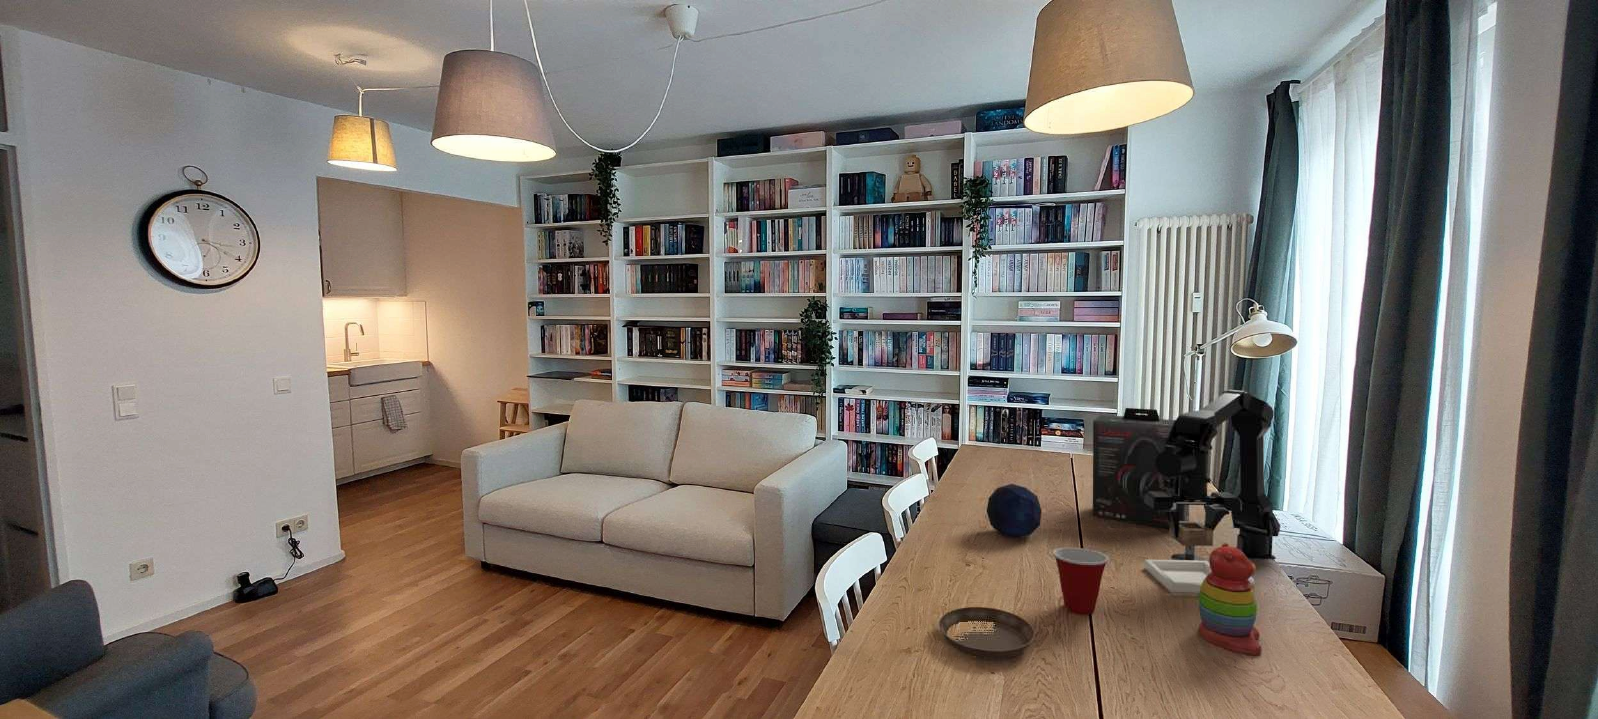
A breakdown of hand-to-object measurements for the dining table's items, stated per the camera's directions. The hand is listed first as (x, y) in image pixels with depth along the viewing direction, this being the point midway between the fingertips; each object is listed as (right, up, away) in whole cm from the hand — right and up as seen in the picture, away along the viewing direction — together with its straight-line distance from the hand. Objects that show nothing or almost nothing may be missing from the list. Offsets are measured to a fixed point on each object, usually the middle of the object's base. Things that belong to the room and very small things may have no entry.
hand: (1190, 537), depth 151 cm
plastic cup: (-30, -12, -11) cm, 34 cm away
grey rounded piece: (+7, -9, +13) cm, 18 cm away
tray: (0, -10, +1) cm, 10 cm away
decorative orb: (-30, -9, +33) cm, 45 cm away
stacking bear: (-7, -13, -24) cm, 29 cm away
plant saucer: (-54, -14, -24) cm, 60 cm away
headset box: (+12, -7, +46) cm, 48 cm away
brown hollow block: (0, -1, 0) cm, 1 cm away
